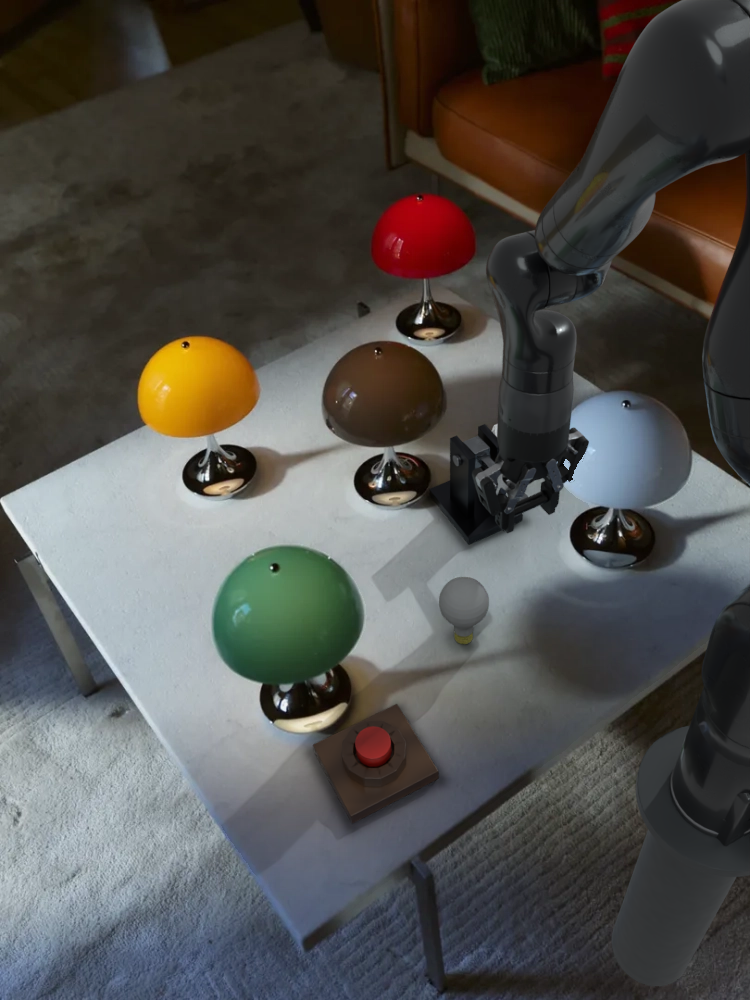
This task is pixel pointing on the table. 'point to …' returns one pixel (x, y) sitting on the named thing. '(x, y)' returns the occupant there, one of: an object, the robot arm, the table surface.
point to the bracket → (467, 491)
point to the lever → (525, 502)
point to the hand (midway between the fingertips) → (526, 517)
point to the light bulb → (463, 606)
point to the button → (373, 746)
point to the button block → (382, 784)
